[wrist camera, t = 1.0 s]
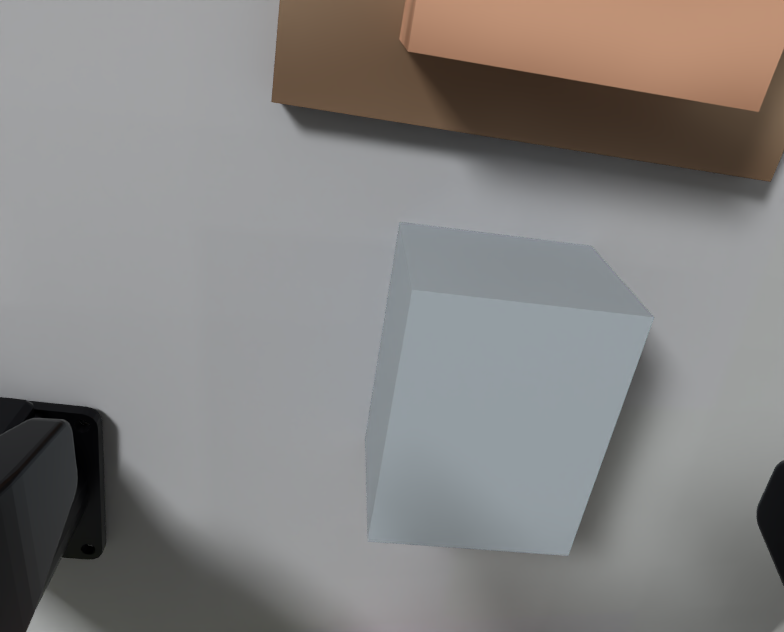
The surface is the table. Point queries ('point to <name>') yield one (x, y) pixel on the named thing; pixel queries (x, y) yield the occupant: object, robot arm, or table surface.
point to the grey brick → (495, 389)
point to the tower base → (508, 97)
